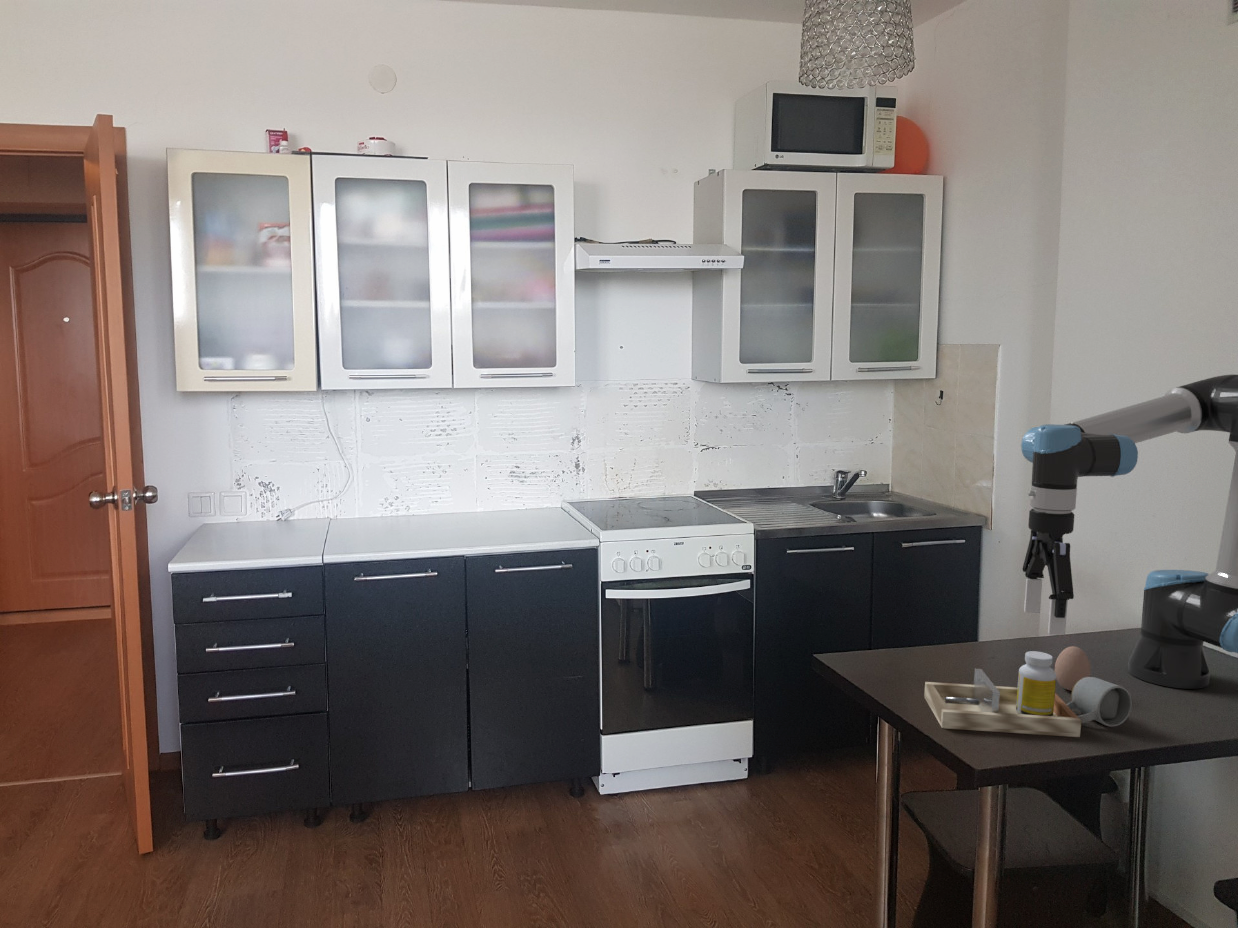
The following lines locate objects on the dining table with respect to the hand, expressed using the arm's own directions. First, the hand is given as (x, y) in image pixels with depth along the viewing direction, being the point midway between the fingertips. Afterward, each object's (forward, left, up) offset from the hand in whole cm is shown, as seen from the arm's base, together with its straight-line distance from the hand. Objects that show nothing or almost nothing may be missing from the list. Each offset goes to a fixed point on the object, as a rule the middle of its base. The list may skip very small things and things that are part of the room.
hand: (1043, 622), depth 177 cm
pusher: (+13, 0, -18) cm, 22 cm away
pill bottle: (0, 0, -18) cm, 18 cm away
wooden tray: (+7, 0, -18) cm, 20 cm away
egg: (-12, -17, -19) cm, 28 cm away
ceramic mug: (-11, -1, -19) cm, 22 cm away
